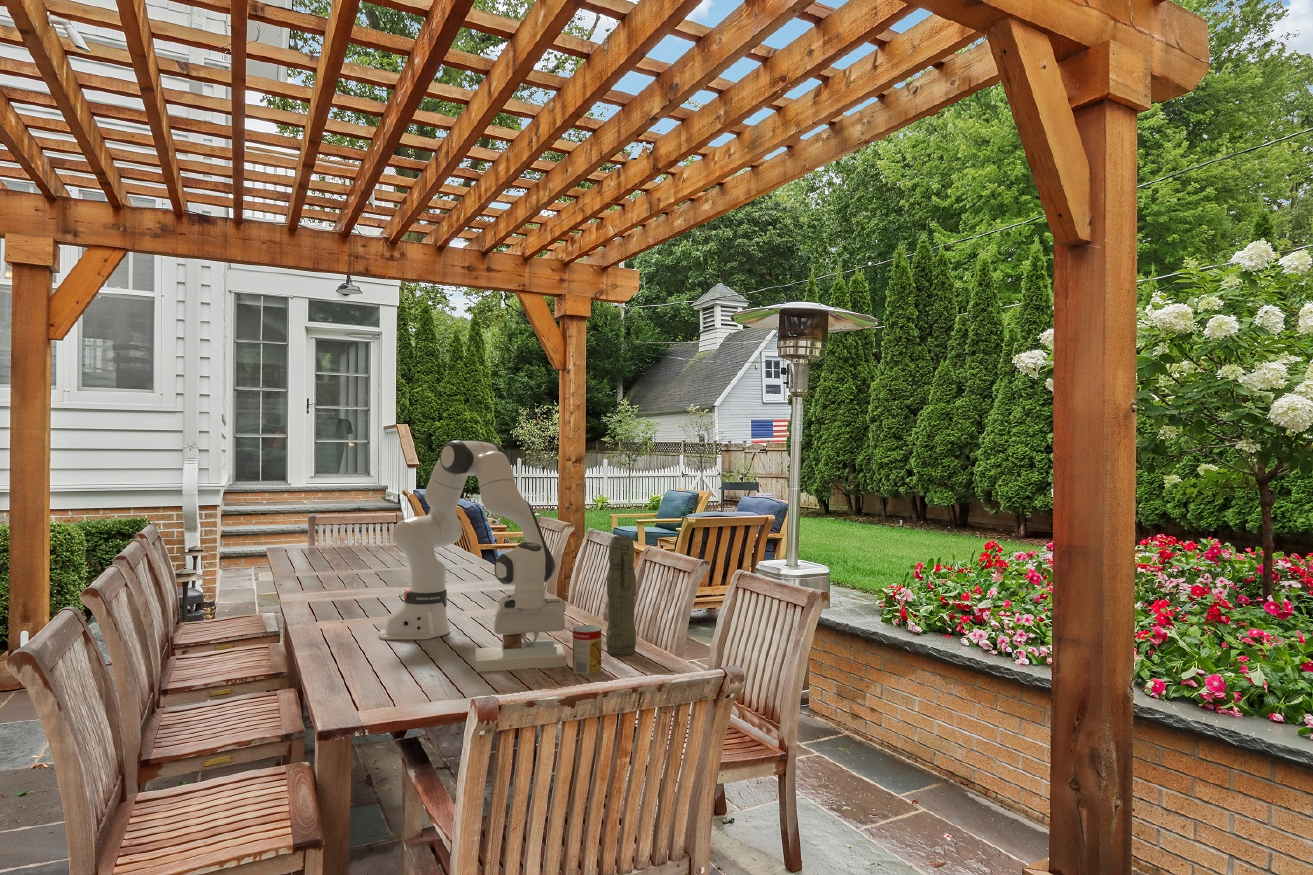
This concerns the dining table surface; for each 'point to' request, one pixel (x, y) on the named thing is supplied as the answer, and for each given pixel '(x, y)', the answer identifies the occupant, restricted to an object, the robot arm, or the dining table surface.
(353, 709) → the dining table surface
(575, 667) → the canned food
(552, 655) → the channel
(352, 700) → the dining table surface
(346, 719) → the dining table surface
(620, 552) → the thermos
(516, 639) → the walnut block
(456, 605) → the dining table surface
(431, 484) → the robot arm
